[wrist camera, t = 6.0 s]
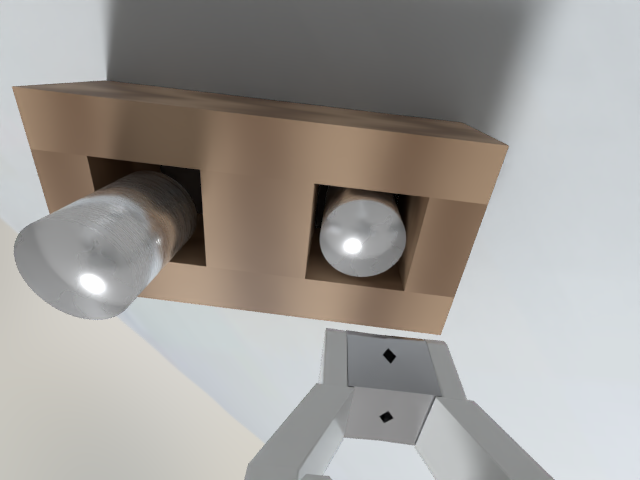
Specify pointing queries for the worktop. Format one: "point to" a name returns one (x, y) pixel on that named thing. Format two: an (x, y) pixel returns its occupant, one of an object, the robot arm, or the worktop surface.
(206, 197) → the walnut block
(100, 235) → the steel peg
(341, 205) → the steel peg
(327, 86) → the worktop surface
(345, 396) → the robot arm
